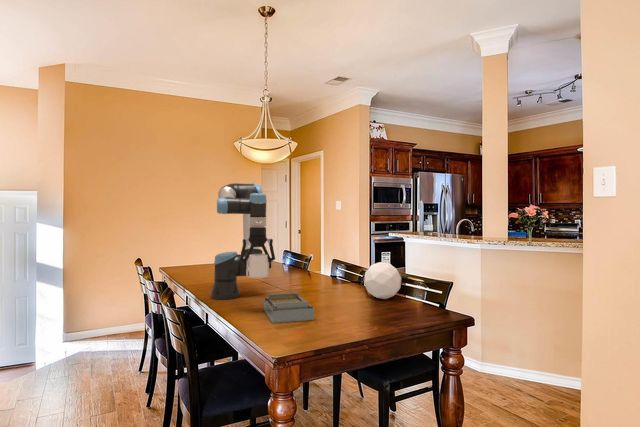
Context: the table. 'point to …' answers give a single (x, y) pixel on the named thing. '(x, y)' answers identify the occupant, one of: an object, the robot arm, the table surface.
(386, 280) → the geometric sphere
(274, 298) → the silver and gold block
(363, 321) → the table surface
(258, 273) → the cup
